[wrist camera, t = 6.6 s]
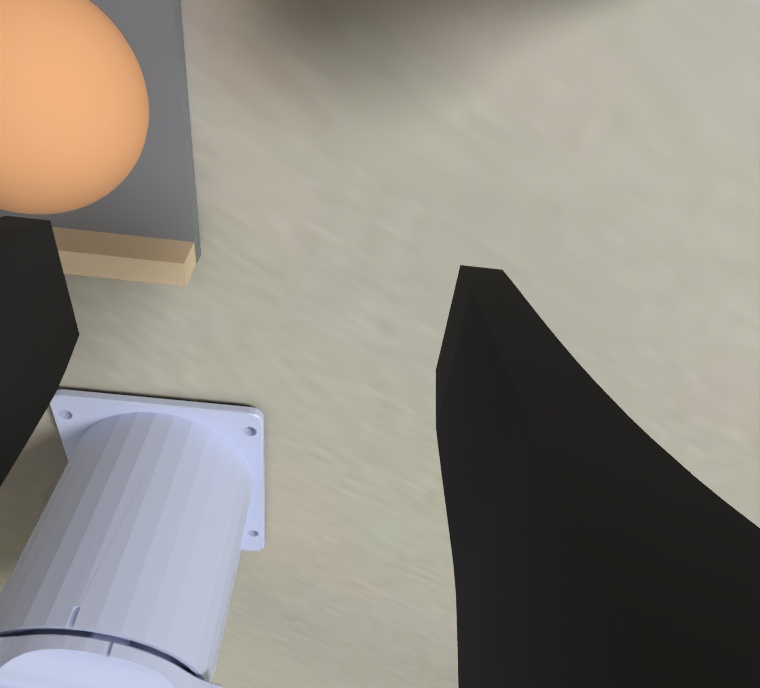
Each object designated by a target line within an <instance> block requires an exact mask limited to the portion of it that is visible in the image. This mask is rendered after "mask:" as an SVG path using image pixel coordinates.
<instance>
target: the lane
mask: <svg viewBox="0 0 760 688" xmlns="http://www.w3.org/2000/svg"><path fill="white" fill-rule="evenodd" d="M90 1H91V2H92V3H93V4H95V5H96V6H97V7H98V8H99V9H100V10H101V11H102V12H103V13H104V14H105V15H107V16H108V17H109V18H110V20H111V21H112V22H113V23H114V24H115V26H116V27H117V28H118V29H119V31H120V32H121V33H122V35H123V36H124V38H125V39H126V41H127V43H128V44H129V46H130V47H131V49H132V50H133V52H134V55H135V57H136V59H137V61H138V63H139V65H140V68H141V71H142V74H143V77H144V80H145V85H146V90H147V95H148V102H149V123H148V130H147V135H146V140H145V144H144V147H143V149H142V152H141V155H140V157H139V159H138V161H137V163H136V164H135V166H134V168H133V169H132V170H131V172H130V173H129V175H128V176H127V177H126V178H125V179H124V180H123V181H122V182H121V183H120V185H118V186H117V187H116V188H115V189H114V190H112V191H111V192H110V193H109V194H107V195H106V196H104V197H103V198H101V199H100V200H98V201H96V202H94V203H92V204H90V205H87V206H85V207H82V208H79V209H76V210H73V211H68V212H63V213H56V214H24V213H15V212H11V211H6V210H1V209H0V217H3V216H14V217H23V218H32V219H42V220H50V221H51V225H52V229H53V233H54V237H55V241H56V245H57V249H58V253H59V257H60V261H61V265H62V268H63V272H64V274H69V275H79V276H88V277H98V278H108V279H117V280H127V281H136V282H146V283H155V284H165V285H175V286H184V287H186V286H187V284H188V282H189V279H190V277H191V275H192V273H193V271H194V268H195V266H196V264H197V262H198V260H199V257H200V255H201V249H200V237H199V225H198V213H197V201H196V189H195V176H194V164H193V152H192V140H191V128H190V116H189V104H188V91H187V79H186V67H185V55H184V43H183V31H182V19H181V6H180V0H90Z"/></svg>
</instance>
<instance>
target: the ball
mask: <svg viewBox="0 0 760 688" xmlns="http://www.w3.org/2000/svg"><path fill="white" fill-rule="evenodd" d="M148 123H149V102H148V95H147V90H146V85H145V80H144V77H143V74H142V71H141V68H140V65H139V63H138V61H137V59H136V57H135V55H134V52H133V50H132V49H131V47H130V46H129V44H128V43H127V41H126V39H125V38H124V36H123V35H122V33H121V32H120V31H119V29H118V28H117V27H116V26H115V24H114V23H113V22H112V21H111V20H110V18H109V17H108V16H107V15H105V14H104V13H103V12H102V11H101V10H100V9H99V8H98V7H97V6H96V5H95V4H93V3H92V2H91V1H90V0H0V209H1V210H6V211H11V212H15V213H24V214H56V213H63V212H68V211H73V210H76V209H79V208H82V207H85V206H87V205H90V204H92V203H94V202H96V201H98V200H100V199H101V198H103V197H104V196H106V195H107V194H109V193H110V192H111V191H112V190H114V189H115V188H116V187H117V186H118V185H120V183H121V182H122V181H123V180H124V179H125V178H126V177H127V176H128V175H129V173H130V172H131V170H132V169H133V168H134V166H135V164H136V163H137V161H138V159H139V157H140V155H141V152H142V149H143V147H144V144H145V140H146V135H147V130H148Z"/></svg>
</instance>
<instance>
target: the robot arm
mask: <svg viewBox="0 0 760 688" xmlns="http://www.w3.org/2000/svg"><path fill="white" fill-rule="evenodd" d="M78 337H79V332H78V328H77V324H76V320H75V316H74V312H73V308H72V304H71V300H70V296H69V292H68V288H67V284H66V280H65V276H64V272H63V268H62V265H61V261H60V257H59V253H58V249H57V245H56V241H55V237H54V233H53V229H52V225H51V221H50V220H42V219H32V218H23V217H14V216H3V217H0V486H1V485H2V483H3V481H4V480H5V478H6V476H7V475H8V473H9V471H10V470H11V468H12V466H13V465H14V463H15V461H16V460H17V458H18V456H19V455H20V453H21V451H22V450H23V448H24V446H25V445H26V443H27V441H28V440H29V438H30V436H31V435H32V433H33V431H34V429H35V428H36V426H37V424H38V423H39V421H40V419H41V418H42V416H43V414H44V412H45V411H46V409H47V407H48V406H49V404H50V407H51V410H52V413H53V416H54V419H55V422H56V425H57V428H58V431H59V434H60V438H61V441H62V444H63V447H64V450H65V453H66V456H67V459H68V464H67V466H66V468H65V470H64V471H63V473H62V475H61V477H60V479H59V481H58V483H57V485H56V487H55V489H54V491H53V493H52V495H51V497H50V499H49V501H48V503H47V505H46V507H45V509H44V510H43V512H42V514H41V516H40V518H39V520H38V522H37V524H36V526H35V528H34V530H33V532H32V534H31V536H30V538H29V540H28V542H27V544H26V546H25V547H24V549H23V551H22V553H21V555H20V557H19V559H18V561H17V563H16V565H15V567H14V569H13V571H12V573H11V575H10V577H9V579H8V581H7V583H6V585H5V586H4V588H3V590H2V592H1V594H0V688H223V687H222V685H220V684H216V683H212V682H211V680H212V678H213V675H214V673H215V670H216V666H217V662H218V658H219V653H220V648H221V644H222V639H223V634H224V630H225V625H226V620H227V615H228V611H229V606H230V601H231V597H232V592H233V587H234V583H235V578H236V573H237V569H238V564H239V559H240V555H241V550H248V551H258V550H261V549H262V548H263V547H264V543H265V460H264V415H263V413H262V412H261V411H260V410H258V409H256V408H253V407H245V406H235V405H224V404H213V403H203V402H192V401H182V400H171V399H160V398H150V397H139V396H129V395H118V394H107V393H97V392H86V391H75V390H65V389H62V390H57V389H58V387H59V384H60V382H61V380H62V377H63V375H64V373H65V370H66V368H67V365H68V363H69V360H70V358H71V355H72V352H73V350H74V347H75V344H76V342H77V339H78ZM248 427H252V428H248ZM436 431H437V440H438V448H439V456H440V464H441V472H442V480H443V487H444V495H445V503H446V510H447V518H448V525H449V533H450V541H451V548H452V556H453V564H454V576H455V588H456V608H457V641H458V682H459V688H760V528H759V527H757V526H756V525H755V524H754V523H752V522H751V521H750V520H748V519H747V518H746V517H744V516H743V515H742V514H741V513H739V512H738V511H737V510H735V509H734V508H733V507H731V506H730V505H729V504H728V503H726V502H725V501H724V500H722V499H721V498H720V497H719V496H718V495H716V494H715V493H714V492H713V491H712V490H710V489H709V488H708V487H707V486H705V485H704V484H703V483H702V482H701V481H699V480H698V479H697V478H696V477H695V476H693V475H692V474H691V473H690V472H689V471H688V470H687V469H685V468H684V467H683V466H682V465H681V464H680V463H679V462H678V461H677V460H675V459H674V458H673V457H672V456H671V455H670V454H669V453H668V452H666V451H665V450H664V449H663V448H662V447H661V446H660V445H659V444H657V443H656V442H655V441H654V440H653V439H652V438H651V437H650V436H649V435H647V434H646V433H645V432H644V431H643V430H642V429H641V428H640V427H639V426H638V425H637V424H636V423H635V422H634V421H633V420H632V419H631V418H630V417H629V416H628V415H627V414H626V413H625V412H624V411H623V410H622V409H621V408H620V407H619V406H618V405H617V404H616V403H615V402H614V401H613V400H612V399H611V398H610V397H609V396H608V395H607V393H606V392H605V391H604V390H603V389H602V388H601V387H600V386H599V385H598V384H597V383H596V382H595V381H594V380H593V379H592V378H591V376H590V375H589V374H588V373H587V372H586V371H585V370H584V369H583V368H582V367H581V365H580V364H579V363H578V362H577V361H576V360H575V359H574V357H573V356H572V355H571V354H570V353H569V352H568V350H567V349H566V348H565V347H564V346H563V345H562V343H561V342H560V341H559V340H558V339H557V337H556V336H555V335H554V334H553V333H552V331H551V330H550V329H549V328H548V326H547V325H546V324H545V323H544V321H543V320H542V319H541V318H540V316H539V315H538V314H537V313H536V311H535V310H534V309H533V308H532V306H531V305H530V304H529V303H528V301H527V300H526V299H525V298H524V296H523V295H522V294H521V292H520V291H519V290H518V289H517V287H516V286H515V285H514V284H513V282H512V281H511V280H510V279H509V277H508V276H507V275H506V274H505V273H504V271H503V270H499V269H490V268H481V267H472V266H463V265H460V269H459V274H458V278H457V282H456V287H455V291H454V295H453V299H452V304H451V308H450V312H449V317H448V321H447V325H446V329H445V334H444V338H443V342H442V347H441V351H440V355H439V359H438V364H437V368H436Z"/></svg>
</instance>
